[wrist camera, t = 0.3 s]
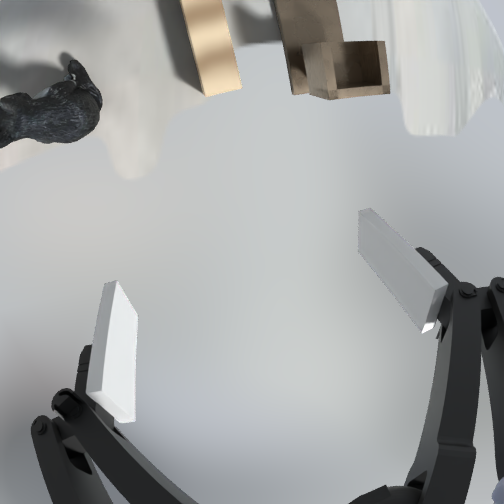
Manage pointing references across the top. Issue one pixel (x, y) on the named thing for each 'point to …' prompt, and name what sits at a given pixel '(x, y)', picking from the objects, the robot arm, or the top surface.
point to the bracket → (328, 53)
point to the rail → (211, 46)
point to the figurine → (53, 111)
